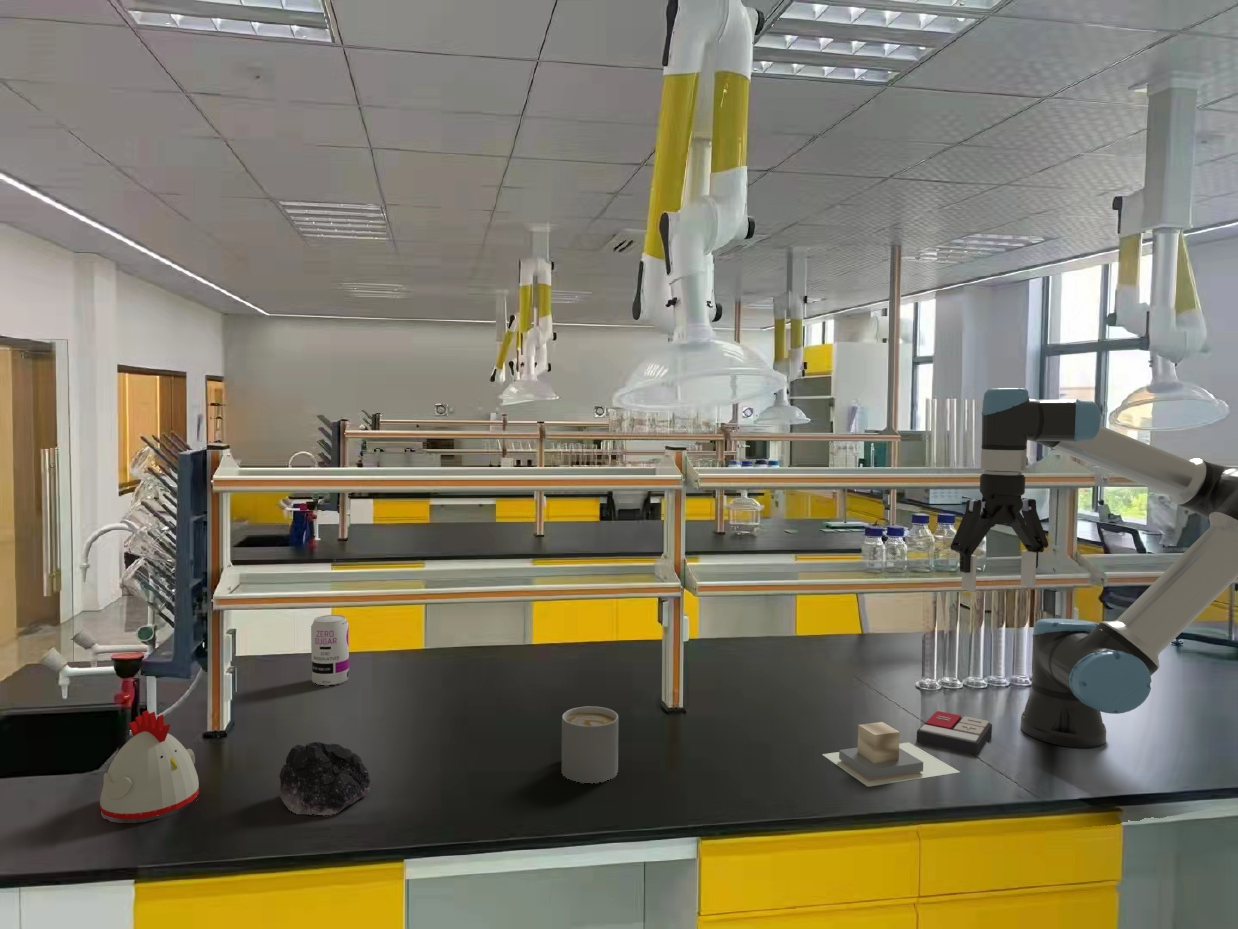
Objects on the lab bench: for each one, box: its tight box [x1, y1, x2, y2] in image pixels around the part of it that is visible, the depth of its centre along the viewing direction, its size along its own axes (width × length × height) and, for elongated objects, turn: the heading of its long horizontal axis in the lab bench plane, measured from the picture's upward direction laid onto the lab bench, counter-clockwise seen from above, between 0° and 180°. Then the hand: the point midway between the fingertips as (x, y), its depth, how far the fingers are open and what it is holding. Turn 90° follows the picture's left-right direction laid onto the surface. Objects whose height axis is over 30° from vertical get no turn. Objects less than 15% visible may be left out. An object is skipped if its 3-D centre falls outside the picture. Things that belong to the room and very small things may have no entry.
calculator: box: [915, 710, 993, 756], centre depth 163 cm, size 11×4×15 cm
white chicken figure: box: [99, 709, 200, 819], centre depth 134 cm, size 14×14×15 cm
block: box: [857, 721, 901, 763], centre depth 148 cm, size 5×5×5 cm
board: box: [821, 742, 961, 787], centre depth 150 cm, size 19×14×1 cm
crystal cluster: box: [279, 741, 371, 816], centre depth 137 cm, size 13×14×10 cm
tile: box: [838, 747, 923, 781], centre depth 148 cm, size 2×9×11 cm
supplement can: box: [310, 614, 350, 685], centre depth 196 cm, size 8×8×15 cm
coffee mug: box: [561, 705, 619, 785], centre depth 150 cm, size 13×10×10 cm
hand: (998, 588), depth 154 cm, fingers open, 13 cm apart
